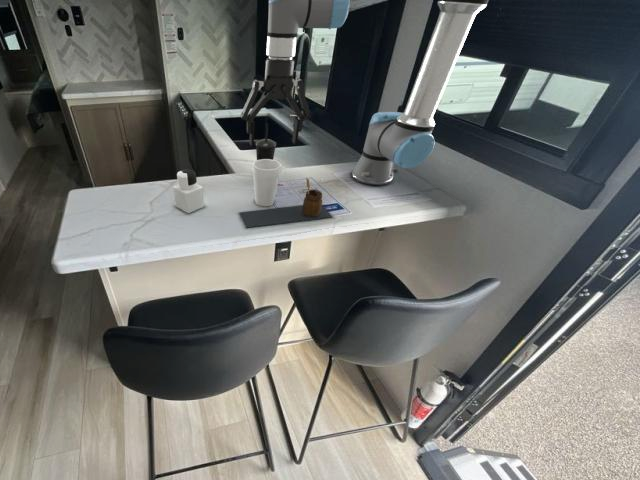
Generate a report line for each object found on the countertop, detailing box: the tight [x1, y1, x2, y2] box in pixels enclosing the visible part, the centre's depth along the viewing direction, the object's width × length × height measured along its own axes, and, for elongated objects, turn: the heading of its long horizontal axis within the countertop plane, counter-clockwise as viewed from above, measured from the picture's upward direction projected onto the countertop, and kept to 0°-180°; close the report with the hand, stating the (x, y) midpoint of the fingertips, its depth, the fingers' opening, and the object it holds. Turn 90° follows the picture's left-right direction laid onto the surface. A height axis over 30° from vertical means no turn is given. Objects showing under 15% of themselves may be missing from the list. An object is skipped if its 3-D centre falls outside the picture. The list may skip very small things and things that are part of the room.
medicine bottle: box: [172, 168, 205, 214], centre depth 106 cm, size 7×7×12 cm
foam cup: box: [251, 159, 283, 207], centre depth 108 cm, size 10×9×13 cm
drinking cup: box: [254, 123, 277, 161], centre depth 119 cm, size 8×8×20 cm
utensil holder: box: [302, 177, 326, 217], centre depth 102 cm, size 6×6×12 cm
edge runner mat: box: [238, 204, 333, 229], centre depth 106 cm, size 29×10×1 cm, turn 104°
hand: (273, 144), depth 99 cm, fingers open, 13 cm apart
